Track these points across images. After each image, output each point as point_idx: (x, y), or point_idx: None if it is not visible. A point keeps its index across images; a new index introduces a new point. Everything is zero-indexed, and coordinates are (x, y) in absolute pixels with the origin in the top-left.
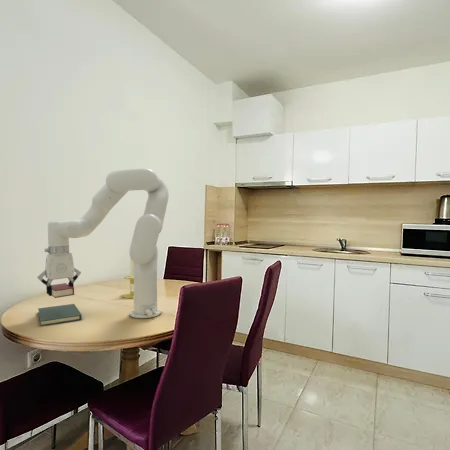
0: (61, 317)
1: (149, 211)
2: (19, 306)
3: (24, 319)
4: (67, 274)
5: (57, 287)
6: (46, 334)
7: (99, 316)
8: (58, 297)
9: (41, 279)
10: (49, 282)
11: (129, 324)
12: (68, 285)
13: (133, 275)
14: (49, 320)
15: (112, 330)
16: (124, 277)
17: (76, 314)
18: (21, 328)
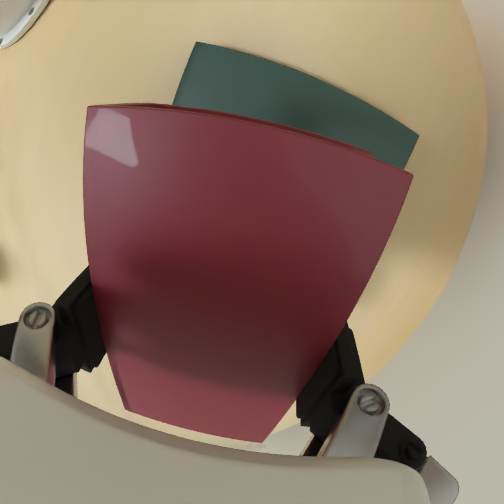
0: (313, 84)
1: None
2: (278, 425)
3: (375, 304)
4: (12, 438)
5: (252, 342)
6: (433, 11)
7: (113, 50)
8: (332, 140)
9: (428, 473)
10: (361, 429)
11: None
12: (109, 323)
13: None
14: (374, 120)
15: None
16: None
17: (210, 72)
18: (458, 187)
